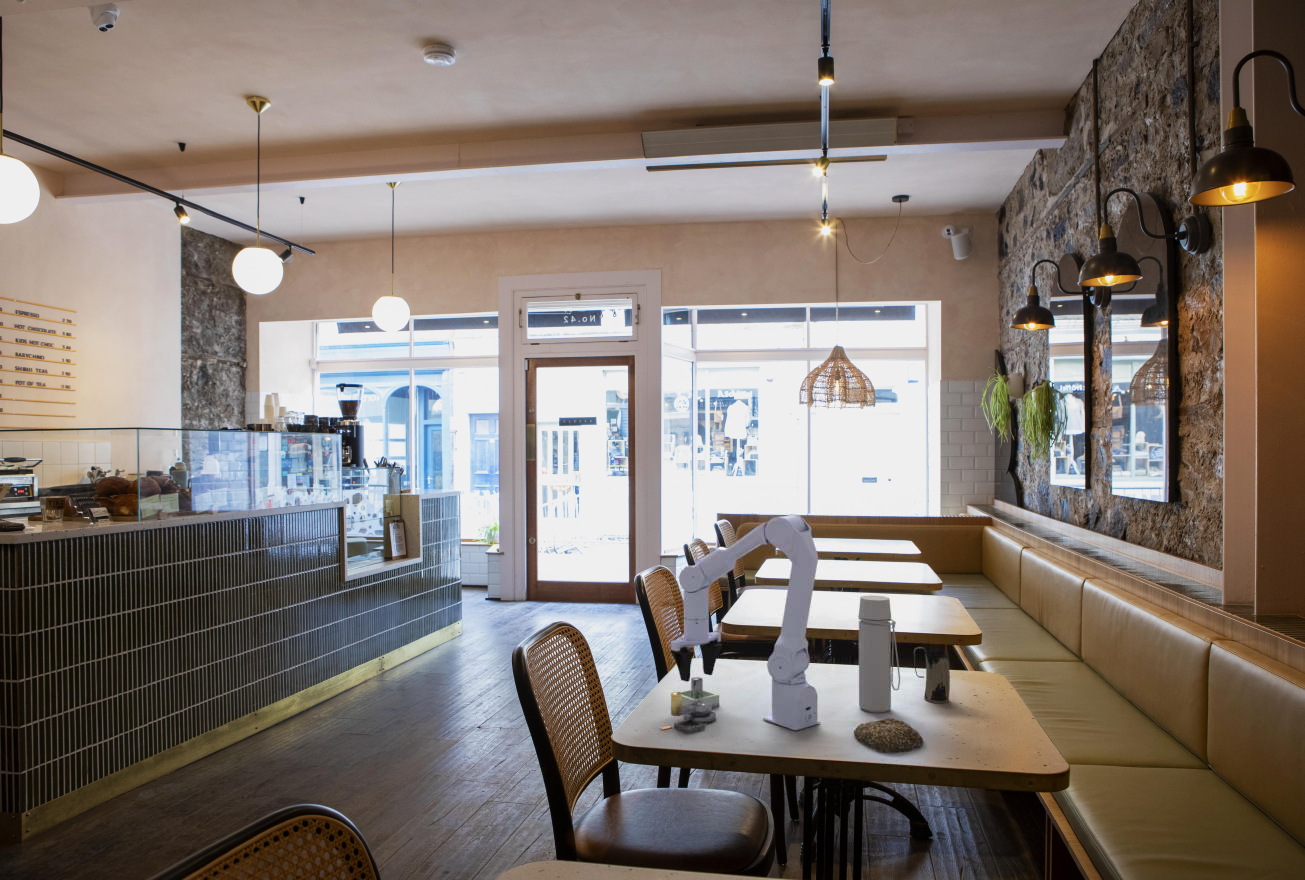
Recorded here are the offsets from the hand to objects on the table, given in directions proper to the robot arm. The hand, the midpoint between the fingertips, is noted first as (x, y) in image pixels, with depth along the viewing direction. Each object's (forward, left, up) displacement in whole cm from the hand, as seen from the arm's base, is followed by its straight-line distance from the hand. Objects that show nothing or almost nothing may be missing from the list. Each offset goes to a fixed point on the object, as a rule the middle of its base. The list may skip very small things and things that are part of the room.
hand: (696, 677), depth 193 cm
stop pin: (0, 0, -6) cm, 6 cm away
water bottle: (-28, -30, -7) cm, 41 cm away
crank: (-8, +9, -5) cm, 13 cm away
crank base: (-9, +10, -6) cm, 15 cm away
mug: (-31, -46, -7) cm, 56 cm away
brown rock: (-42, -14, -7) cm, 45 cm away
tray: (0, 0, -6) cm, 6 cm away
